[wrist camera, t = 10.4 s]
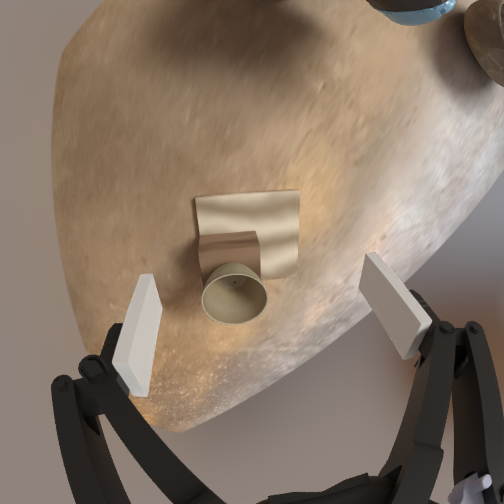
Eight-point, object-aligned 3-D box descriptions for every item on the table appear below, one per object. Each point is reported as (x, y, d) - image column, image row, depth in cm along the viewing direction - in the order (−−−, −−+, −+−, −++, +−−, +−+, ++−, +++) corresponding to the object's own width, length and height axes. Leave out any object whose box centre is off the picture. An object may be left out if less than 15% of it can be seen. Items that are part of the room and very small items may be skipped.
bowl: (507, 95, 38) (548, 106, 25) (458, 81, 38) (508, 88, 25) (494, 17, 26) (533, 18, 13) (438, -11, 26) (482, -20, 13)
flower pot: (224, 305, 50) (225, 334, 44) (190, 267, 45) (187, 294, 39) (271, 280, 49) (279, 307, 42) (242, 237, 44) (246, 262, 38)
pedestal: (199, 235, 49) (197, 252, 44) (255, 230, 50) (260, 246, 45) (206, 280, 54) (206, 300, 49) (257, 276, 55) (261, 295, 50)
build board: (195, 196, 47) (195, 198, 46) (298, 189, 48) (299, 190, 47) (207, 282, 56) (207, 284, 55) (295, 273, 57) (296, 276, 56)
